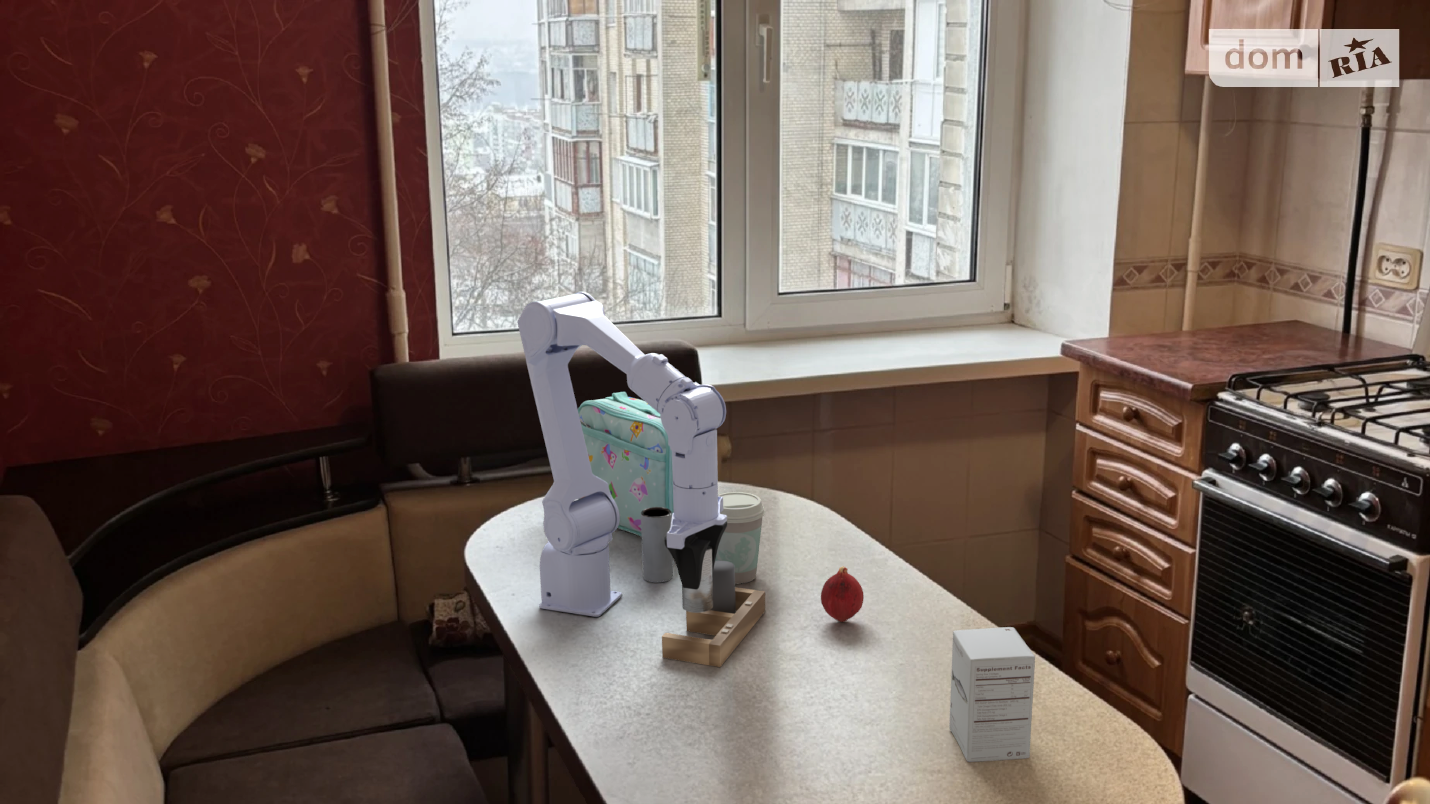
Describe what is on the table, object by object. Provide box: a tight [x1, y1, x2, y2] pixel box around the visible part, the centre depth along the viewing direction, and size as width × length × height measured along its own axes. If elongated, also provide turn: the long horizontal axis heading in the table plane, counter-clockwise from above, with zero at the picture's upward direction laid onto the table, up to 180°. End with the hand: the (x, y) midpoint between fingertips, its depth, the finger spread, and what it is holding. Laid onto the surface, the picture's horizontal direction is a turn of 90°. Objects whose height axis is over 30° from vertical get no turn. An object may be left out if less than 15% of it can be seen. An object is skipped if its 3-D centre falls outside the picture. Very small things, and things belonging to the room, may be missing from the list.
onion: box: [820, 565, 864, 623], centre depth 172 cm, size 6×6×8 cm
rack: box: [661, 586, 766, 668], centre depth 170 cm, size 8×18×3 cm, turn 159°
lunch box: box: [577, 391, 674, 538], centre depth 208 cm, size 27×10×21 cm, turn 43°
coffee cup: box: [715, 491, 766, 585], centre depth 187 cm, size 8×9×12 cm
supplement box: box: [948, 626, 1036, 763], centre depth 141 cm, size 7×7×13 cm
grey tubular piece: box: [641, 507, 674, 583], centre depth 188 cm, size 4×4×10 cm
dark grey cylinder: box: [711, 561, 737, 614], centre depth 173 cm, size 4×4×8 cm
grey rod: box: [681, 545, 713, 613], centre depth 164 cm, size 4×4×8 cm
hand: (697, 580), depth 165 cm, fingers closed on grey rod, 4 cm apart
